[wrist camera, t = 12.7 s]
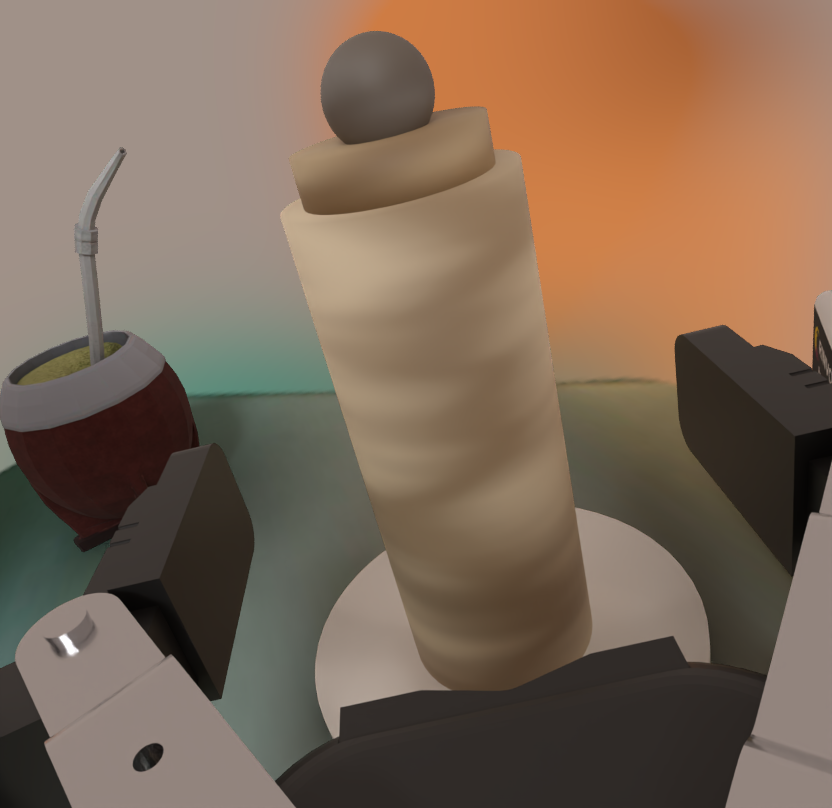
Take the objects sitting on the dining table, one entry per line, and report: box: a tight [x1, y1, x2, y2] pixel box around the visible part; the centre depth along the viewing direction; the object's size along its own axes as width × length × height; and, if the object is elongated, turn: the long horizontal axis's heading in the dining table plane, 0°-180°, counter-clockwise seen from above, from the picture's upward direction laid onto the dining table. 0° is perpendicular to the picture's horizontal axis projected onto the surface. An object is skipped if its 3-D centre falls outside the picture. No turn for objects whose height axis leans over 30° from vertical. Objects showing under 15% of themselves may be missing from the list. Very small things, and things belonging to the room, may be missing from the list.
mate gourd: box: [0, 147, 200, 552], centre depth 29 cm, size 8×8×15 cm
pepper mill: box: [280, 31, 592, 691], centre depth 17 cm, size 5×5×15 cm
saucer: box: [315, 508, 711, 739], centre depth 20 cm, size 11×11×1 cm
